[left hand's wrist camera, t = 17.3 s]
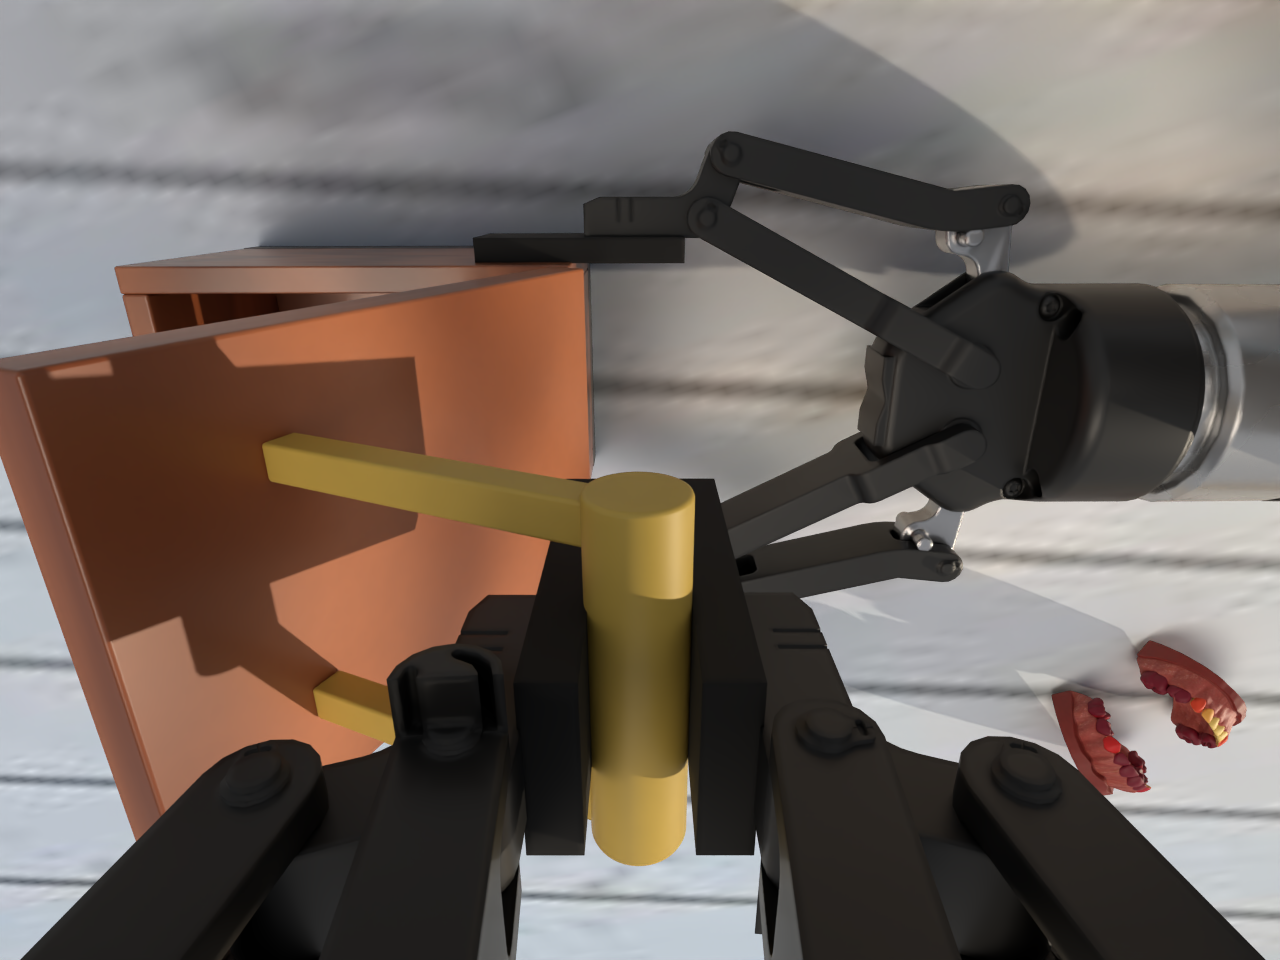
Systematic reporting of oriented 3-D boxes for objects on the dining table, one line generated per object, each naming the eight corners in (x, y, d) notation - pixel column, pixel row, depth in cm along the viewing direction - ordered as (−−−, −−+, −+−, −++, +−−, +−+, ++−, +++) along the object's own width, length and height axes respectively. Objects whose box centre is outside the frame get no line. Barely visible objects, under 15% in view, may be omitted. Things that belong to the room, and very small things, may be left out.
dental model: (1283, 753, 34) (1121, 832, 35) (1218, 696, 37) (1076, 770, 39) (1233, 672, 32) (1068, 759, 34) (1171, 622, 36) (1026, 702, 38)
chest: (297, 458, 33) (185, 543, 25) (257, 246, 30) (112, 266, 21) (595, 457, 33) (580, 543, 25) (589, 245, 29) (569, 265, 21)
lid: (150, 890, 12) (586, 1139, 9) (-36, 363, 9) (550, 457, 6) (563, 548, 24) (816, 602, 21) (550, 266, 21) (848, 278, 18)
